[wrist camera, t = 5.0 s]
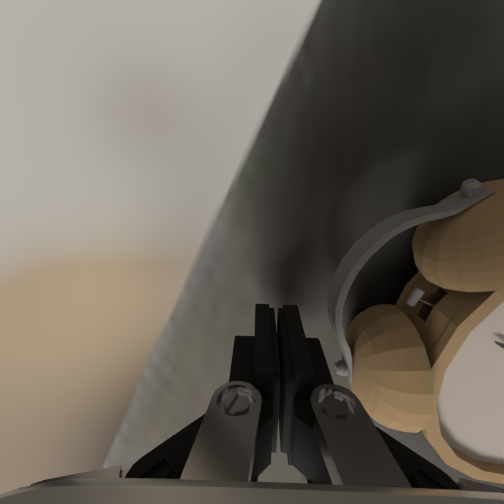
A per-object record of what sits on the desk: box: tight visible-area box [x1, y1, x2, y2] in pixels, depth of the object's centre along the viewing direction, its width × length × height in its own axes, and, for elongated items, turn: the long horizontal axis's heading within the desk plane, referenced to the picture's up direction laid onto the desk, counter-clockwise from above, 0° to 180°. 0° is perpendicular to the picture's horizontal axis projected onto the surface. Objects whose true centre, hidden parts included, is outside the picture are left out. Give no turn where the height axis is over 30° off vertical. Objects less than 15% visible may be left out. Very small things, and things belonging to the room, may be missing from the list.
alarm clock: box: [328, 178, 504, 484], centre depth 12 cm, size 11×5×15 cm
